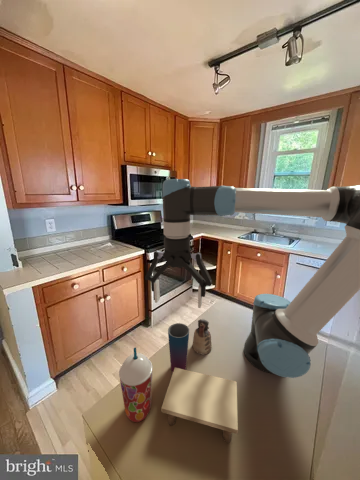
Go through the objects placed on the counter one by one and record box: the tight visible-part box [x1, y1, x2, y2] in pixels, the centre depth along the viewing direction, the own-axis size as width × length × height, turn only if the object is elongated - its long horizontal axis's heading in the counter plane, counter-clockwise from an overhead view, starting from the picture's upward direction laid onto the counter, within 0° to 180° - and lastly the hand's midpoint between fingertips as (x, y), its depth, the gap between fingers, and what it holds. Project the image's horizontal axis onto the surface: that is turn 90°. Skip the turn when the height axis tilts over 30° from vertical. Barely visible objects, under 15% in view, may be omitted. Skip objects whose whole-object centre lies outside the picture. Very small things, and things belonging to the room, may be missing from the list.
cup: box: [167, 322, 190, 374], centre depth 65 cm, size 7×7×15 cm
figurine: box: [192, 318, 213, 355], centre depth 74 cm, size 7×7×12 cm
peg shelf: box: [160, 368, 239, 443], centre depth 52 cm, size 18×12×6 cm, turn 76°
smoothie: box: [118, 347, 153, 423], centre depth 51 cm, size 8×8×20 cm
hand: (178, 302), depth 61 cm, fingers open, 13 cm apart
